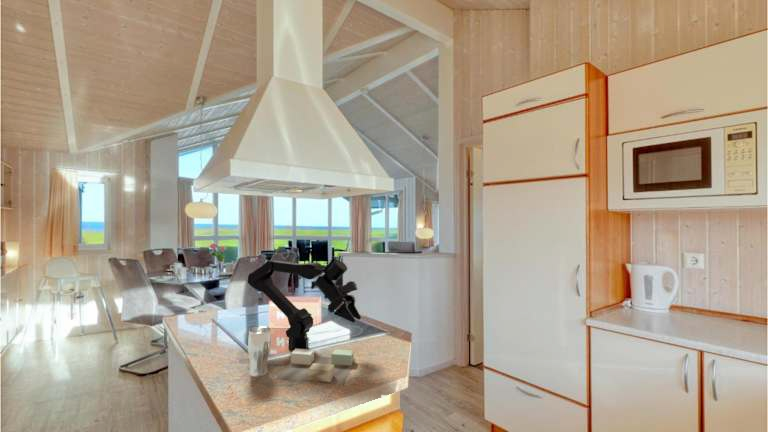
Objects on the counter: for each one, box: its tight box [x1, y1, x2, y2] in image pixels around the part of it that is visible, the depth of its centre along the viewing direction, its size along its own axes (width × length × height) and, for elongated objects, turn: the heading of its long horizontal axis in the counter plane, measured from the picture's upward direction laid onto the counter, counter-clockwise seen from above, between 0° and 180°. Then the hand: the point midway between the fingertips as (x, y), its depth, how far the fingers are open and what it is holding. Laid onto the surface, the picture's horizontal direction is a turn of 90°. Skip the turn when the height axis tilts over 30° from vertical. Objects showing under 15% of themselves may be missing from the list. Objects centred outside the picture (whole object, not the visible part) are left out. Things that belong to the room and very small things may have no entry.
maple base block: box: [309, 363, 334, 382], centre depth 113 cm, size 7×4×4 cm, turn 84°
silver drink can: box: [247, 326, 272, 378], centre depth 116 cm, size 7×7×15 cm
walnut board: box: [274, 355, 356, 386], centre depth 120 cm, size 22×20×1 cm
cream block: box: [289, 348, 315, 365], centre depth 125 cm, size 7×4×4 cm, turn 84°
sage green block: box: [331, 348, 355, 366], centre depth 126 cm, size 7×4×4 cm, turn 84°
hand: (357, 320), depth 130 cm, fingers open, 9 cm apart
